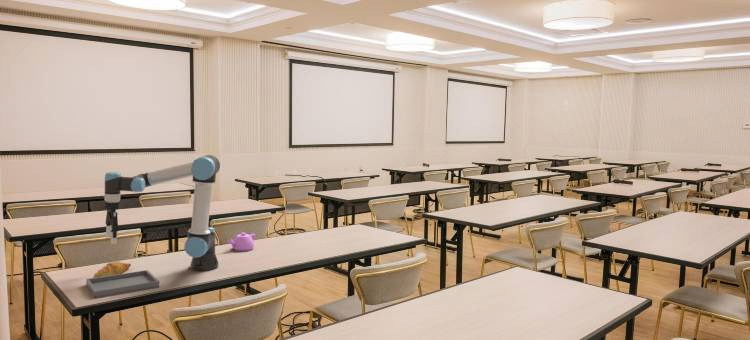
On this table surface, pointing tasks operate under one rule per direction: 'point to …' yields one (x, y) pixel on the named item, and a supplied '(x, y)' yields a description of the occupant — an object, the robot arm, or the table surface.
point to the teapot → (243, 242)
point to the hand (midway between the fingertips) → (111, 240)
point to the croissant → (112, 269)
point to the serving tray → (121, 283)
